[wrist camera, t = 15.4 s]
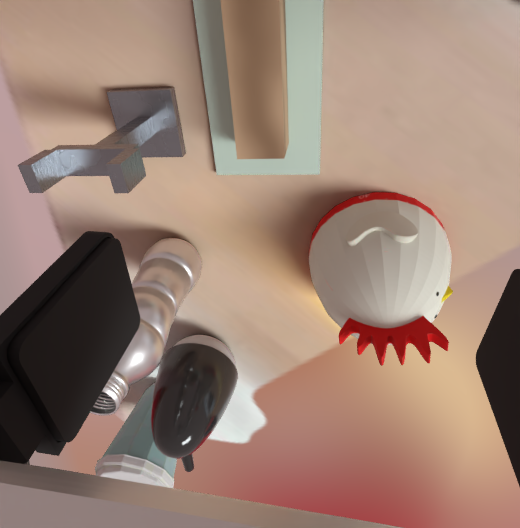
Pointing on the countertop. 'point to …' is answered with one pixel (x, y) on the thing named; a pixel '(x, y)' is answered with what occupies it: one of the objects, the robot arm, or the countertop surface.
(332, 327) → the countertop surface
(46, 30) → the countertop surface
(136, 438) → the disposable coffee cup
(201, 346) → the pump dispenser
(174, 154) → the hook standards
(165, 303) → the plastic bottle
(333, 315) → the kitchen timer
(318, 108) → the mat
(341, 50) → the countertop surface
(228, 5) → the rail
